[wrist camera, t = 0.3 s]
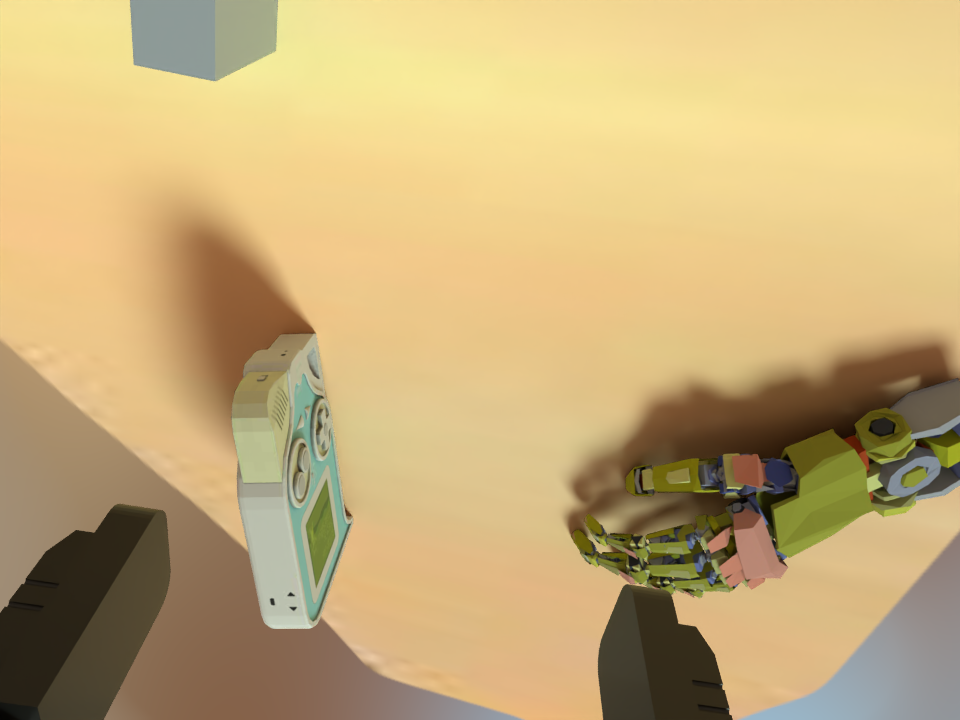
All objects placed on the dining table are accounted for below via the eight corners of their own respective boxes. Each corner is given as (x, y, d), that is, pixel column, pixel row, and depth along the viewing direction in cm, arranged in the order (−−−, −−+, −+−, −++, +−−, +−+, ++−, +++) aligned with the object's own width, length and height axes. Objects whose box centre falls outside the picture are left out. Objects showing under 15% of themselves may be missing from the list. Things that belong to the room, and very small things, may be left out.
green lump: (1003, 501, 44) (632, 665, 47) (921, 422, 50) (594, 572, 52) (1013, 371, 37) (571, 575, 39) (915, 297, 42) (535, 479, 45)
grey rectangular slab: (330, 313, 43) (357, 521, 49) (284, 315, 43) (317, 522, 49) (272, 394, 33) (316, 645, 39) (212, 395, 33) (265, 645, 39)
